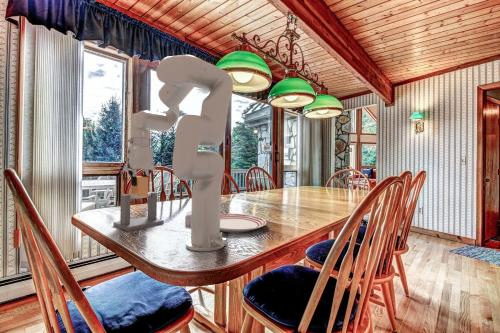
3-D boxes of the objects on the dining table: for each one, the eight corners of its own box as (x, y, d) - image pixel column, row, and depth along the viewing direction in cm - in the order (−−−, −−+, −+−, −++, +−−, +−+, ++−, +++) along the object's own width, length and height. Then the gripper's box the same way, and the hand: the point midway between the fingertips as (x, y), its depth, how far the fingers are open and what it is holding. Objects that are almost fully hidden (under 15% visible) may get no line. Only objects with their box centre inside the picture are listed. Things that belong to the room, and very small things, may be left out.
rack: (163, 223, 111) (164, 193, 110) (127, 231, 98) (127, 196, 98) (148, 219, 118) (149, 190, 118) (113, 225, 105) (113, 193, 105)
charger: (207, 217, 125) (206, 225, 110) (188, 218, 123) (185, 226, 109) (207, 208, 125) (206, 214, 110) (188, 208, 123) (185, 215, 108)
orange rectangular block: (147, 195, 107) (148, 177, 107) (138, 196, 104) (139, 177, 104) (139, 194, 112) (139, 176, 111) (130, 194, 109) (130, 176, 108)
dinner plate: (267, 221, 121) (267, 214, 121) (265, 238, 94) (265, 229, 94) (211, 218, 124) (211, 211, 124) (193, 234, 97) (194, 226, 97)
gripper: (124, 141, 98) (123, 187, 99) (162, 144, 112) (161, 185, 112) (115, 141, 103) (115, 186, 104) (153, 144, 116) (152, 183, 117)
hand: (139, 185), depth 108 cm, fingers closed on orange rectangular block, 4 cm apart
